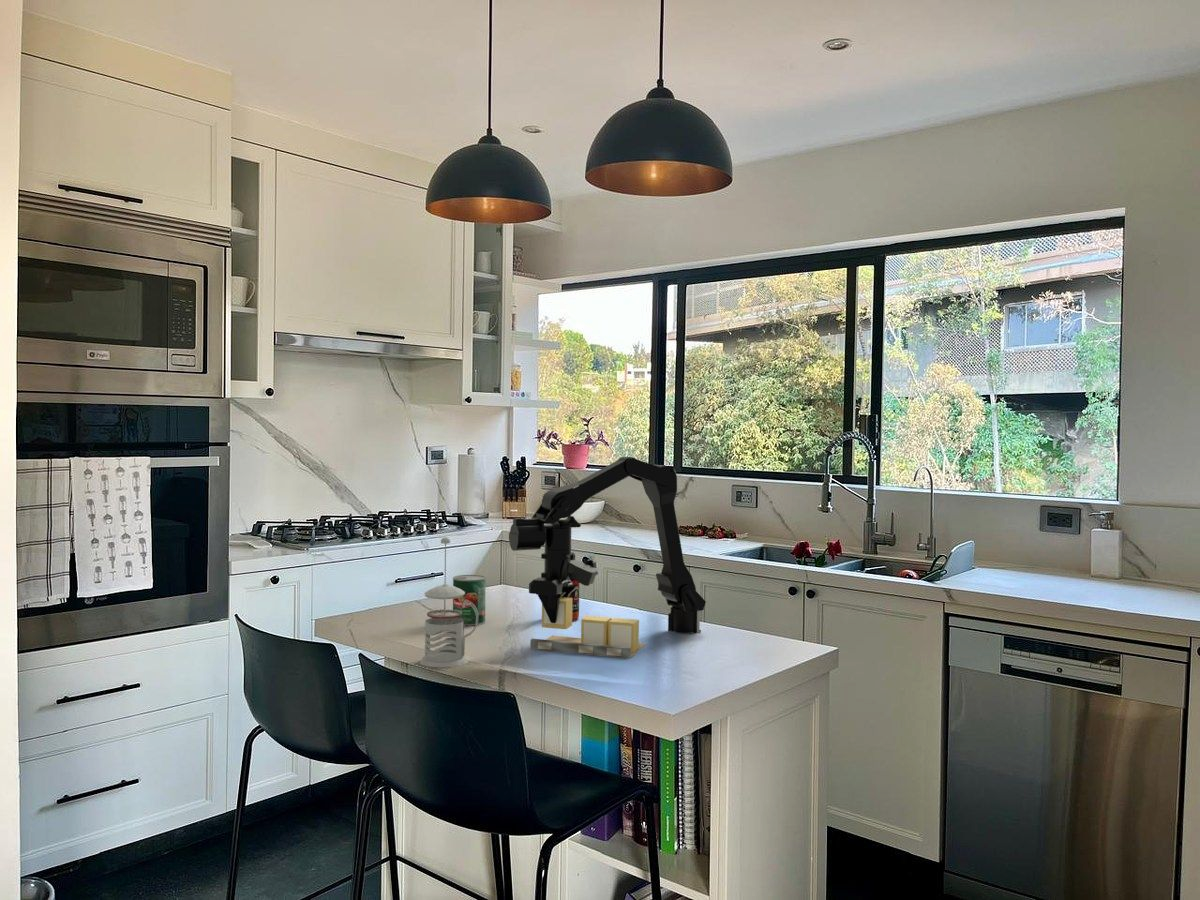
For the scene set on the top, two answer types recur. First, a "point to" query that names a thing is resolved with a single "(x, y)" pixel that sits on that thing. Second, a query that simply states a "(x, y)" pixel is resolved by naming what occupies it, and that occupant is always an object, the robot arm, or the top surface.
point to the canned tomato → (470, 598)
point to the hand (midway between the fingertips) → (557, 620)
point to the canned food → (575, 601)
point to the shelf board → (581, 647)
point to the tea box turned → (559, 615)
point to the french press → (446, 628)
